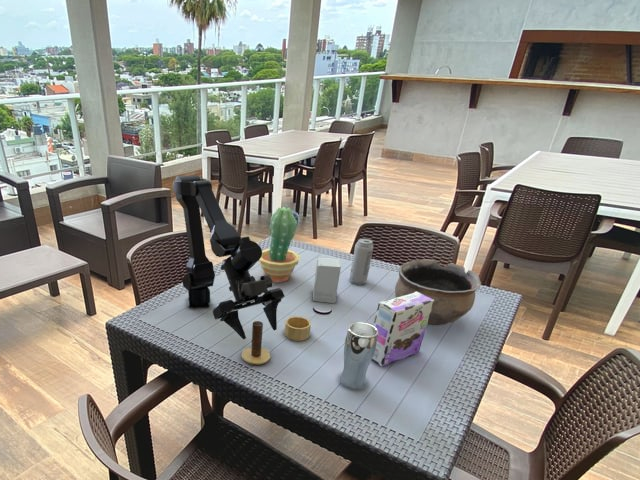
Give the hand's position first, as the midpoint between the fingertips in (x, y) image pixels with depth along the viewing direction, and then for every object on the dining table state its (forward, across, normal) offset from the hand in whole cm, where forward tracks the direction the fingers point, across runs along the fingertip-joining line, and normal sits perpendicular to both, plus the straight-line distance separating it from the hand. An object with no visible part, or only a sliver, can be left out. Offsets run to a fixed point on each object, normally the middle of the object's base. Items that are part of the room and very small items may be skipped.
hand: (260, 334), depth 110 cm
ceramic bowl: (+10, +58, +2) cm, 58 cm away
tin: (+2, +17, +10) cm, 20 cm away
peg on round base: (+4, 0, +6) cm, 8 cm away
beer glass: (+19, +16, -7) cm, 26 cm away
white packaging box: (-9, +39, +20) cm, 45 cm away
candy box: (+16, +33, -4) cm, 37 cm away
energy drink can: (-12, +58, +23) cm, 64 cm away
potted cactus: (-24, +35, +36) cm, 55 cm away
